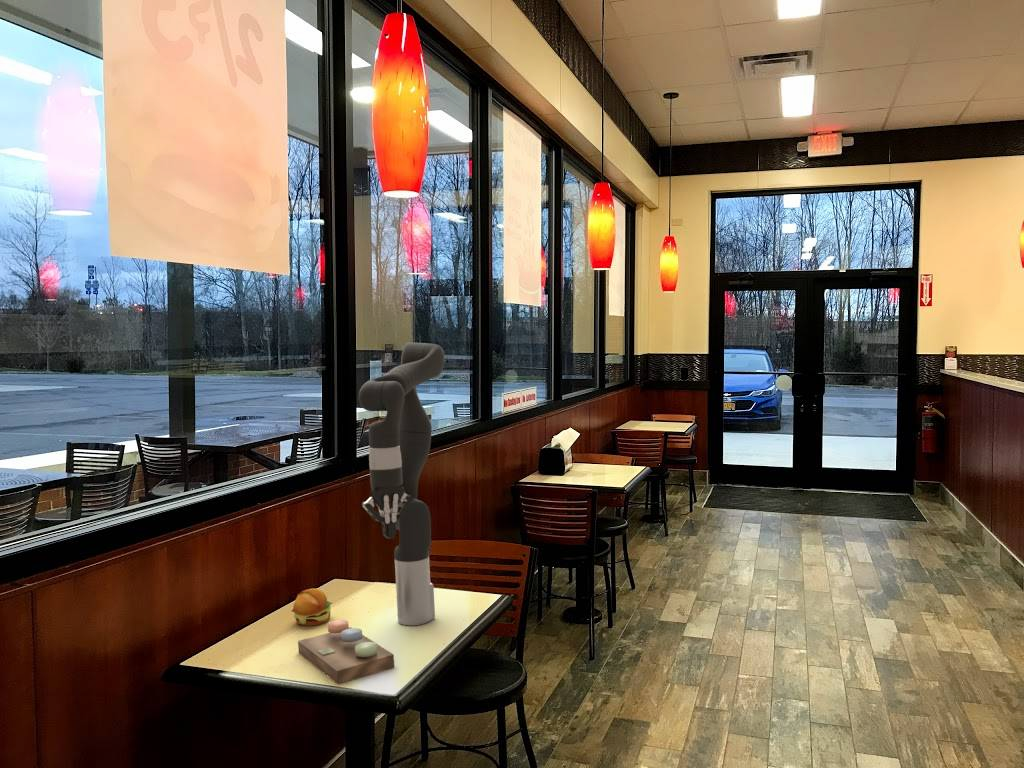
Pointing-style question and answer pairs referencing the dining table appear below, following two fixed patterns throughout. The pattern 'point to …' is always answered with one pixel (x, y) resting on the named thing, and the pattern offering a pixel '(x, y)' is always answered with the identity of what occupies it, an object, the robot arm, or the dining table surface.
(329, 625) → the button terracotta
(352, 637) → the button slate
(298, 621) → the cheeseburger
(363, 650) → the button sage
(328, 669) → the console
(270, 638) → the dining table surface
